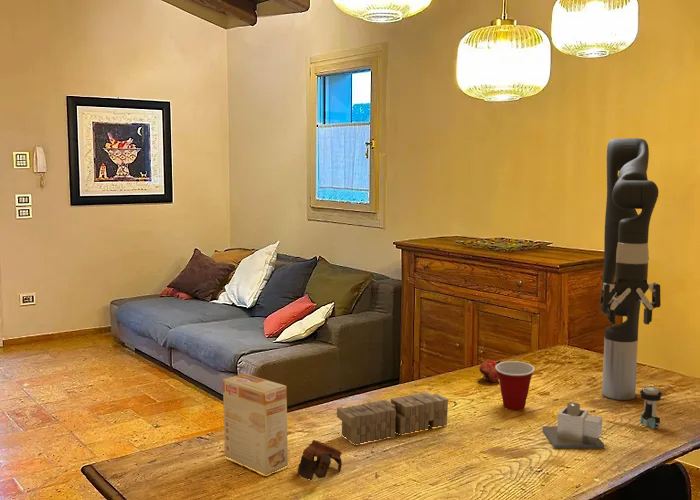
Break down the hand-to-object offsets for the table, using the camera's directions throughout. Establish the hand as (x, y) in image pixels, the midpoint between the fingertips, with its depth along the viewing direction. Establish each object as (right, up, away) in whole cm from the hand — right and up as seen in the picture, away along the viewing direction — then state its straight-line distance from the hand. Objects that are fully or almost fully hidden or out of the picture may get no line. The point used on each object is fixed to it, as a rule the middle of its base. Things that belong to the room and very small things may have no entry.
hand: (629, 323), depth 182 cm
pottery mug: (-77, -32, -21) cm, 86 cm away
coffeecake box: (-92, -31, -16) cm, 99 cm away
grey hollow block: (-13, -28, -3) cm, 31 cm away
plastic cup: (-24, -26, +21) cm, 41 cm away
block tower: (-60, -29, +4) cm, 66 cm away
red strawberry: (-27, -23, +45) cm, 57 cm away
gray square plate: (-15, -29, -2) cm, 32 cm away
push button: (+8, -28, +6) cm, 30 cm away
